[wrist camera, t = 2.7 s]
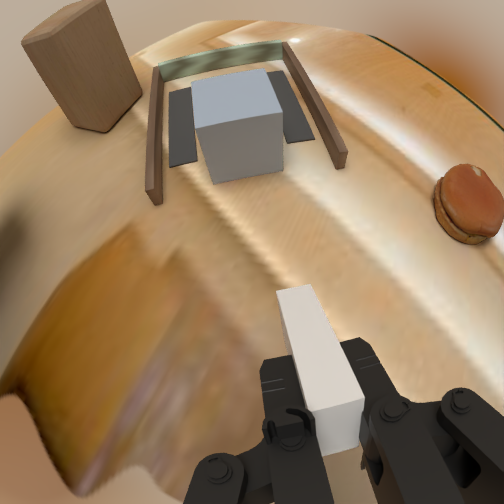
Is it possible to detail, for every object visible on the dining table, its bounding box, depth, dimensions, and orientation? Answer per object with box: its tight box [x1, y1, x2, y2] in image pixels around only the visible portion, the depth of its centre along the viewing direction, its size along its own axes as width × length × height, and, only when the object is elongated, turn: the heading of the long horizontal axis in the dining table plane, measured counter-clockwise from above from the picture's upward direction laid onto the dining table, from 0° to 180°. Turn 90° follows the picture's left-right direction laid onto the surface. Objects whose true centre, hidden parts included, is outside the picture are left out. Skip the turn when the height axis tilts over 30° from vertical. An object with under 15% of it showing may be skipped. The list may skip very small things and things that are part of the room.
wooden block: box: [21, 0, 142, 132], centre depth 33 cm, size 10×10×20 cm
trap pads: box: [169, 71, 315, 168], centre depth 38 cm, size 18×16×1 cm
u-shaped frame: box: [145, 40, 348, 205], centre depth 37 cm, size 22×26×4 cm
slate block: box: [191, 68, 283, 184], centre depth 31 cm, size 8×8×9 cm
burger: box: [434, 164, 504, 244], centre depth 28 cm, size 10×9×5 cm
